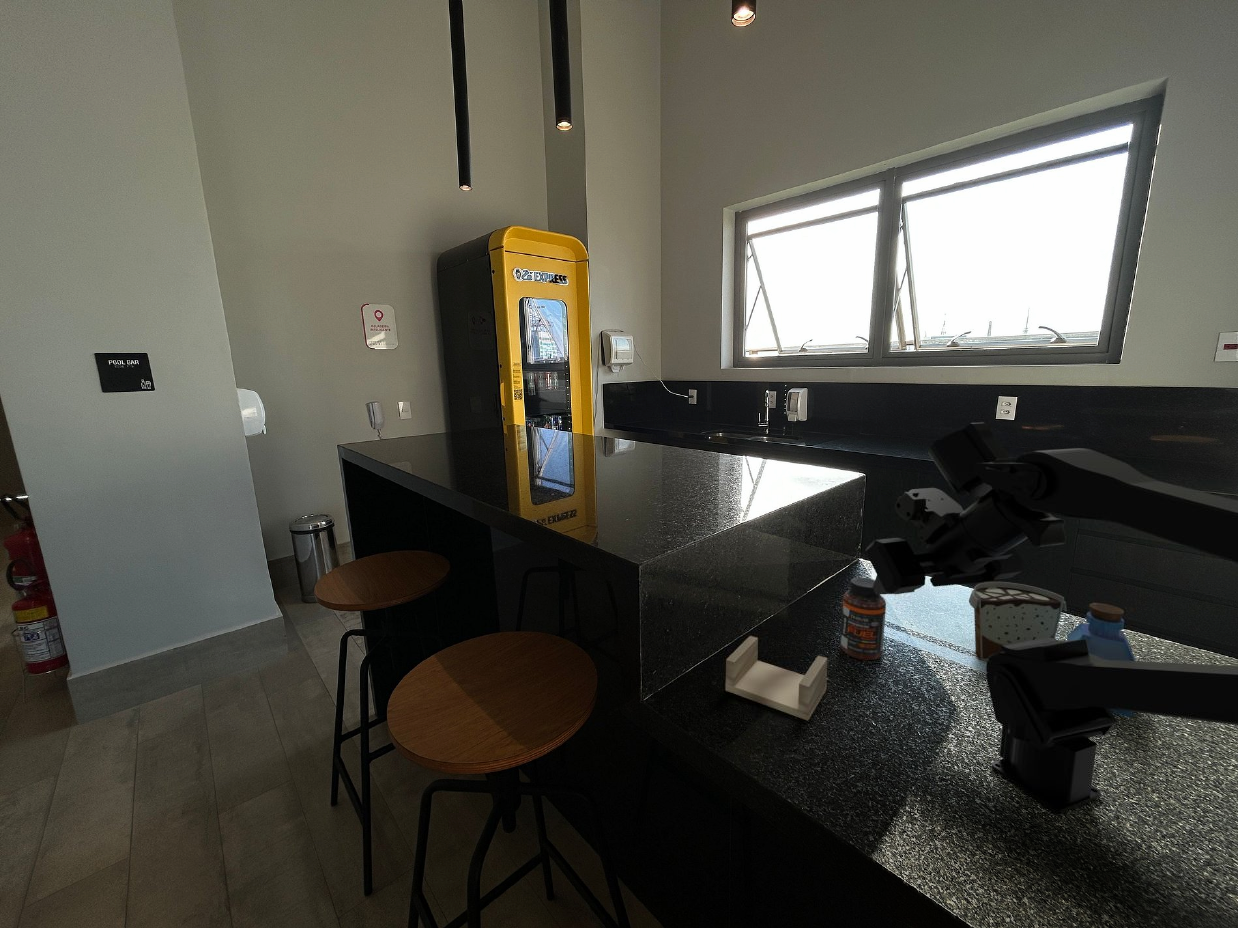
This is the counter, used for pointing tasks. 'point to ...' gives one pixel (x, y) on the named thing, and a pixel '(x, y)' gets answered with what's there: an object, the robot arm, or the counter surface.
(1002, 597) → the food container
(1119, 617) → the perfume bottle
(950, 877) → the counter surface
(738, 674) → the cradle
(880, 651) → the supplement bottle
